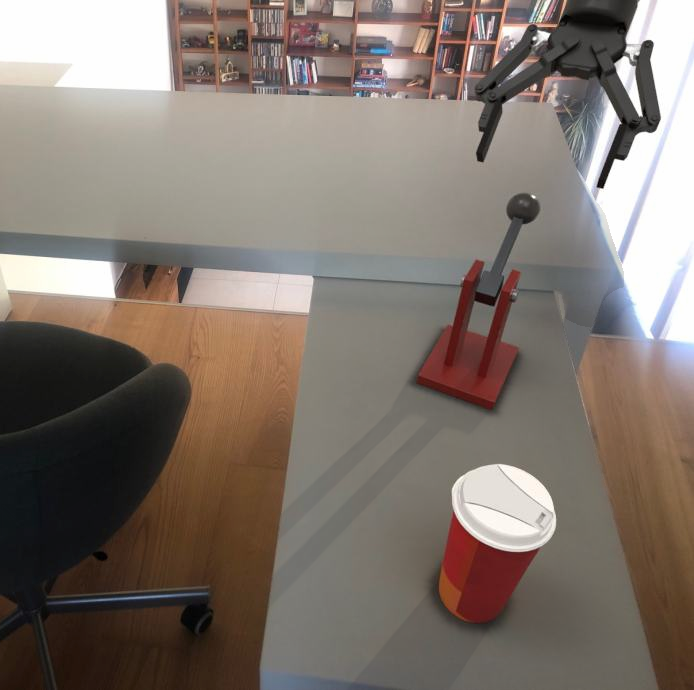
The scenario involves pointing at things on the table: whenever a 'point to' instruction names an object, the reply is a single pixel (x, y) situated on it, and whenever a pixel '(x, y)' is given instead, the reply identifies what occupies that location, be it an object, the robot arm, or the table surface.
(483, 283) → the lever
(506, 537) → the paper cup
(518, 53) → the robot arm
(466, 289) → the bracket
